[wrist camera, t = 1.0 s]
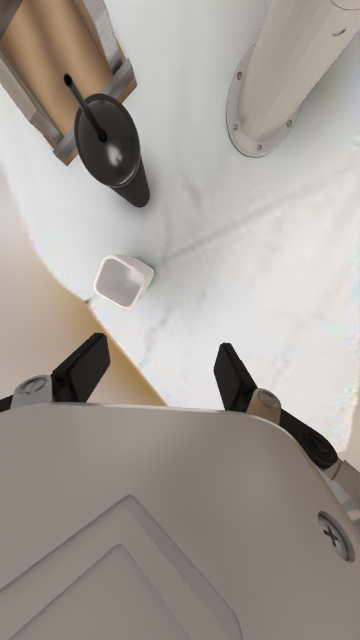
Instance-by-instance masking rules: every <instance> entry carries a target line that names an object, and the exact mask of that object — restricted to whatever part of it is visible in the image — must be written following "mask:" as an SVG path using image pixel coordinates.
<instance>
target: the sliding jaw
mask: <svg viewBox="0 0 360 640" xmlns="http://www.w3.org/2000/svg"><path fill="white" fill-rule="evenodd" d="M73 1H74V3H75V5H76V7H77V9H78V11H79V13H80V15H81V17H82V19H83V21H84V23H85V24H86V26H87V28H88V30H89V32H90V34H91V36H92V38H93V40H94V42H95V44H96V46H97V48H98V50H99V52H100V53H101V55H102V57H103V59H104V61H105V63H106V65H107V67H108V69H109V71H110V73H111V75H112V77H113V76H114V75H115V74H116V72H117V71H118V70H119V69H120V67H121V66H122V65H123V63H122V60H121V56H120V53H119V49H118V46H117V42H116V39H115V35H114V32H113V28H112V25H111V21H110V18H109V14H108V11H107V7H106V5H105V3H104V1H103V0H73Z"/></svg>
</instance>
